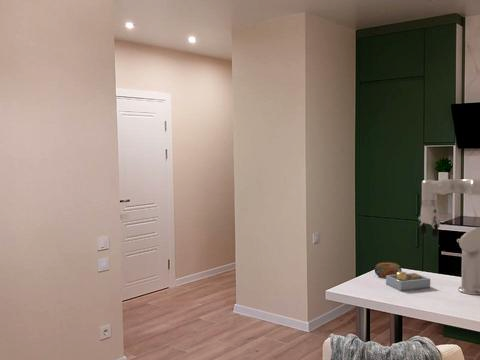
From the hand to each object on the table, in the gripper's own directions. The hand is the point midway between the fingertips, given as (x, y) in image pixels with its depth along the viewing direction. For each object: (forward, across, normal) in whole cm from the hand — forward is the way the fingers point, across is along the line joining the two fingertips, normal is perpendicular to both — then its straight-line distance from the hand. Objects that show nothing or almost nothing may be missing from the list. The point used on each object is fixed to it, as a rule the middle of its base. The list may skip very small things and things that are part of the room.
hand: (429, 234), depth 264 cm
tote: (+28, +3, +11) cm, 31 cm away
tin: (+29, +24, +10) cm, 39 cm away
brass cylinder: (+27, +3, +15) cm, 31 cm away
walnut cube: (+28, +3, +7) cm, 29 cm away
